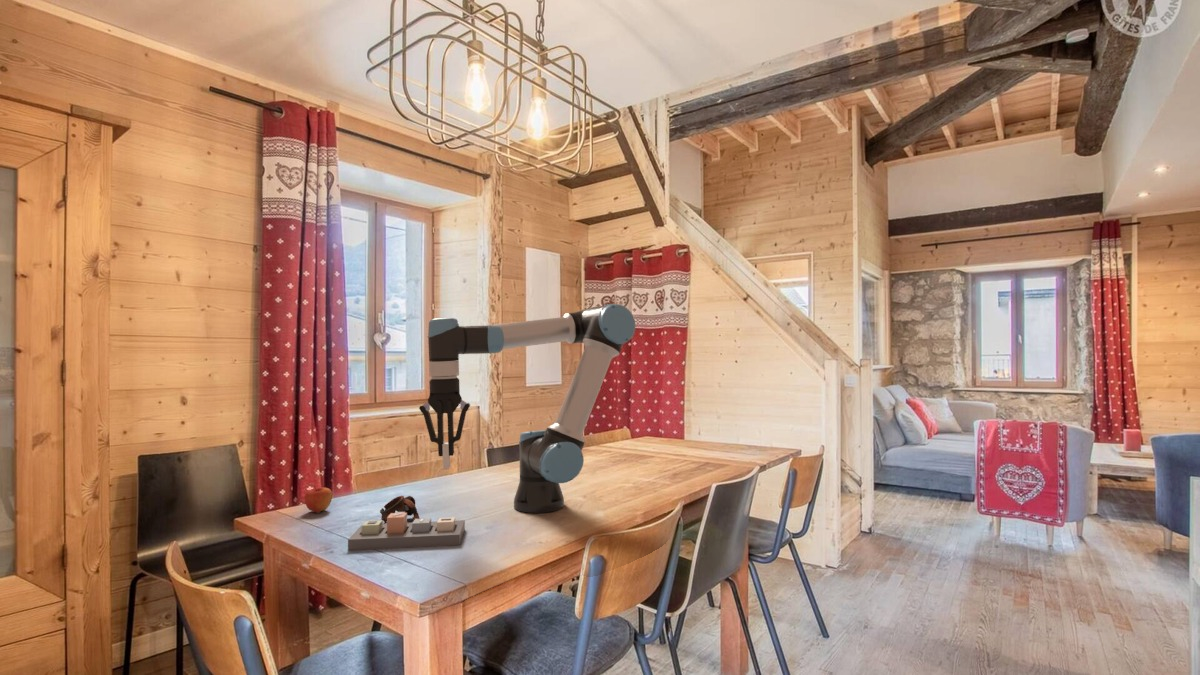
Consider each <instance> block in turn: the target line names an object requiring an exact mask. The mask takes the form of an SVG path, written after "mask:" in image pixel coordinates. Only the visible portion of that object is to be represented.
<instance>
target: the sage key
mask: <svg viewBox="0 0 1200 675" xmlns="http://www.w3.org/2000/svg"><path fill="white" fill-rule="evenodd" d="M383 522H384V521H383V520H379V519H378V520H377V519H376V520H374V519H373V520H366V521H364V523H362V524H361V525H362V535H363V534H380V533H381V532H382V531H383V524H384V523H383Z"/></svg>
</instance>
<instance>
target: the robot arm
mask: <svg viewBox="0 0 1200 675" xmlns="http://www.w3.org/2000/svg"><path fill="white" fill-rule="evenodd" d="M427 332H428V333H427V334H428V336H427V339H428V341H427V342H428V372H429V373H428V376H429V377H430V379H429V384H428V385H429V397H428V398H427V401H426V402H425V403H424V404H421V405H420V406H419V408H418V409H419V411H420V412H421V413H422V415H423V418H424V421H425V426H426V429H427V432H428V435H429V439H430V442H431V443H436V444H437V447H438V448H437V450H438V452H437V453H438V455H437V456H439V457H442V470H443V471H444V470H446V471H447V470H450V468H451V456H454V454H455V442H458V441H460V440H461V438H462V433H463V428H464V425H465V419H466V415H467V411H468V410H469V408H470V407H471V403H469V402H466V401H464V400H463V398H462V396H461V394H460V392H461V391H460V379H459V378H458V376H459V375H460V361H459V358H460V357H459V356H460V355H479V354H480V355H481V354H483V355H484V354H485V355H486V354H490V355H492V354H498V353H500V352H502V351H503V350H505V349H506V350H507V349H516V348H522V347H524V348H525V347H530V346H539V345H545V344H554V343H562V342H563V343H564V342H566V343H567V344H569V345H571V344H583V345H584V349H583V352H582V355H581V356H580V360H579V361H578V365H577V367H576V369H575V373H574V374H573V376H572V379H571V382H570V384H569V386H568V390H567V392H566V394H565V396H564V399H563V401H562V404H561V407H560V409H559V412H558V414H557V417H556V419H555V422H554V423H553V424H551V425H548V426H547V428H546V430H545V429H543V430H531V431H522V432H521V433H520V436H519V442H518V445H519V482H518V485H517V488H516V489H517V490H516V491H515V495H514V498H513V509H515V510H516V511H519V512H522V513H529V514H531V513H533V514H539V513H543V514H544V513H551V512H557V511H559V510H561V509H562V508H564V506H565V497H564V495H563V491H562V488H561V486H560V484H565V483H568V482H571V481H573V480H574V479H575V478H577V477H578V476H579V474H580V473H581V471H582V469H583V467H584V456H583V455H584V454H583V452H582V451H583V448H584V446H585V443H586V441H585V438H584V436H583V434H584V431H585V429H586V426H587V423H588V421H589V418H590V415H591V413H592V410H593V408H594V406H595V403H596V400H597V398H598V396H599V394H600V391H601V387H602V385H603V382H604V380H605V377H606V375H607V372H608V369H609V367H610V364H611V362H612V359H614V358H615V357H618V356H620V353H621V351H622V348H623V347H624V346H623V345H624V344H626V343H627V342H629V341H630V340H631V339H632V338H633V336H634V335H635V332H636V320H635V318H634V316H633V313H632V312H631V311H630V309H629V308H627V307H626V306H624V305H623V304H622V305H621V304H617V303H615V304H614V303H607V304H604V305H600V306H594V307H590V308H586V309H582V310H579V311H574V312H567V313H564V314H563V316H562V317H551V318H541V319H534V320H533V319H532V320H524V321H515V322H507V323H499V324H498V323H496V324H487V325H459V321H458V319H457V318H454V317H453V318H451V317H450V318H449V317H447V318H445V317H444V318H443V317H442V318H441V317H439V318H438V317H437V318H432V319H430V320H429V321H428V331H427ZM459 406H460V407H459ZM430 407H431V408H432V409H433V410H434V412H435V413H436V418H437V419H436V420H437V421H436V422H437V434H436V431H435V428H434V424H433V420H432V417H431V413H430V410H431V408H430ZM458 407H459V408H460V410H461V411H460V415H459V419H458V424H457V429H456V433H455V434H454V428H455V427H454V426H455V425H454V412H455V411H456V410H457V409H458ZM444 414H446V416H447V442H444V441H445V438H444V435H445V434H444Z"/></svg>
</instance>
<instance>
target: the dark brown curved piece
mask: <svg viewBox="0 0 1200 675" xmlns="http://www.w3.org/2000/svg"><path fill="white" fill-rule="evenodd" d="M379 513H380V515H381V517H380V518H381V520H383V522H384V524H387V517H388V516H389V515H390V514H391V513H407V516H412V515H413V516H412V520H413V521H414V520H415V519H421V518H420V516H419V515H420V514H419V512H418V510H417V507H416V500H415V498H414V497H413V496H411V495H408V496H406V497H405V496H404V495H399V496H396V497H394V498H392V499H391V500H389V501H388V502H387V503H386V504H385V505H384V506H383V507H381V509H380V511H379Z"/></svg>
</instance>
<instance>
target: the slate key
mask: <svg viewBox="0 0 1200 675" xmlns="http://www.w3.org/2000/svg"><path fill="white" fill-rule="evenodd" d="M412 522H413V523H412ZM412 522H411V523H412V532H430V531H431V522H432V518H431V517H429V518H427V517H426V518H420V519H415V520H413V521H412Z"/></svg>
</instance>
